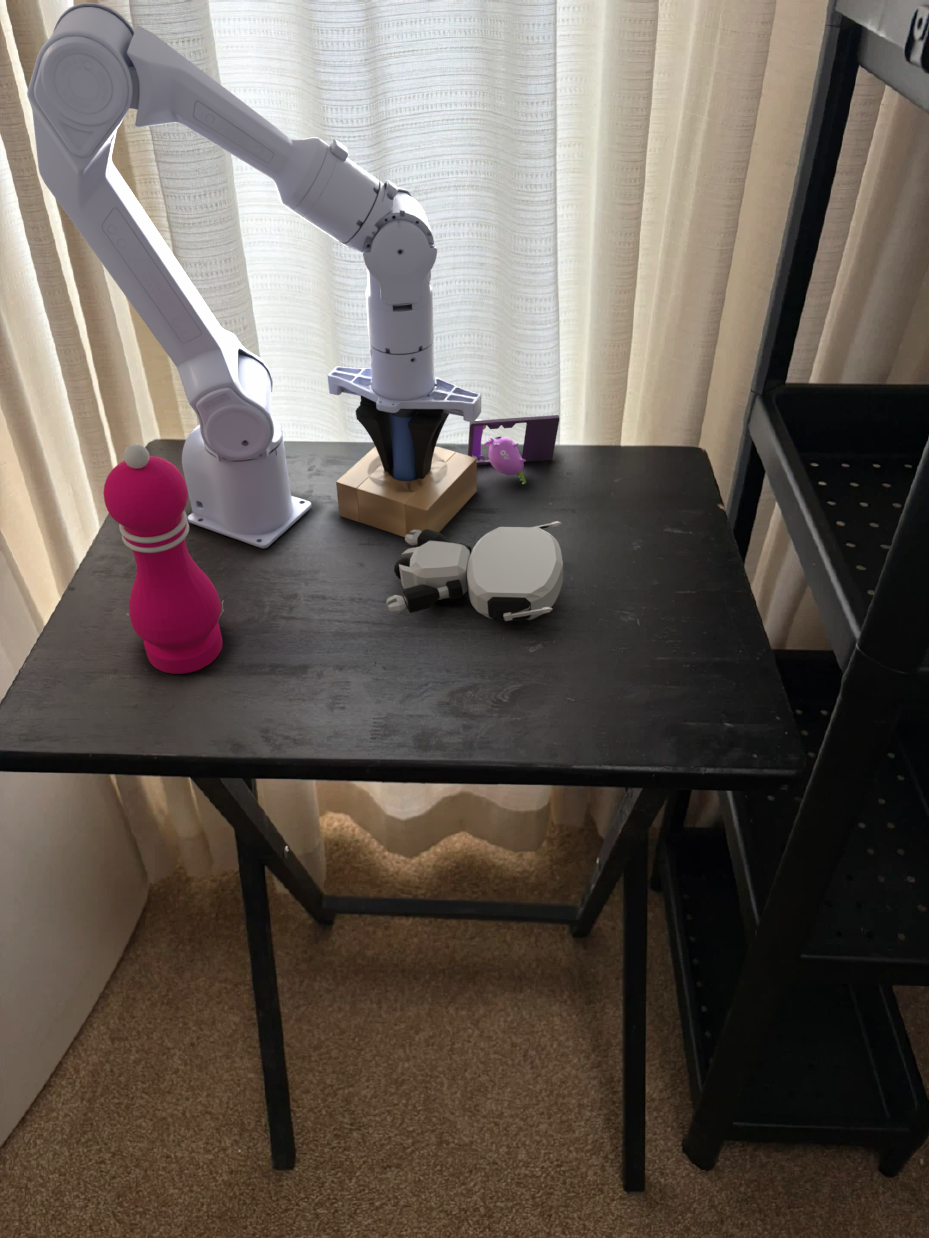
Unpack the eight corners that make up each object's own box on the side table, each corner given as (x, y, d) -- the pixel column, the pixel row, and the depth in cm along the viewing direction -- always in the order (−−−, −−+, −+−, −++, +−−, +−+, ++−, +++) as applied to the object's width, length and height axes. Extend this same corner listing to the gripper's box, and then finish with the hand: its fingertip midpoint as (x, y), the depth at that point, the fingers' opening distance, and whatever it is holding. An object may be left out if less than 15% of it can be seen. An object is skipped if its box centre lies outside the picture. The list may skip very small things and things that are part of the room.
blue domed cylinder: (389, 494, 101) (384, 400, 94) (401, 479, 103) (396, 386, 96) (416, 500, 100) (412, 405, 93) (427, 485, 102) (424, 391, 95)
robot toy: (385, 638, 89) (559, 644, 87) (378, 598, 86) (558, 603, 84) (409, 551, 98) (567, 555, 96) (403, 512, 95) (567, 515, 93)
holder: (339, 515, 101) (335, 481, 98) (392, 465, 108) (390, 432, 105) (427, 545, 98) (426, 510, 95) (476, 491, 104) (477, 457, 102)
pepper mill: (228, 615, 90) (186, 415, 77) (229, 673, 85) (184, 468, 72) (144, 625, 89) (86, 424, 76) (139, 684, 84) (76, 479, 71)
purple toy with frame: (558, 409, 103) (468, 415, 102) (566, 450, 101) (475, 457, 100) (550, 451, 109) (466, 457, 108) (558, 491, 107) (472, 497, 106)
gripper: (306, 345, 90) (321, 476, 99) (461, 374, 86) (461, 507, 95) (342, 312, 95) (353, 439, 104) (490, 338, 91) (488, 468, 100)
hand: (407, 469), depth 100 cm, fingers closed on blue domed cylinder, 3 cm apart
